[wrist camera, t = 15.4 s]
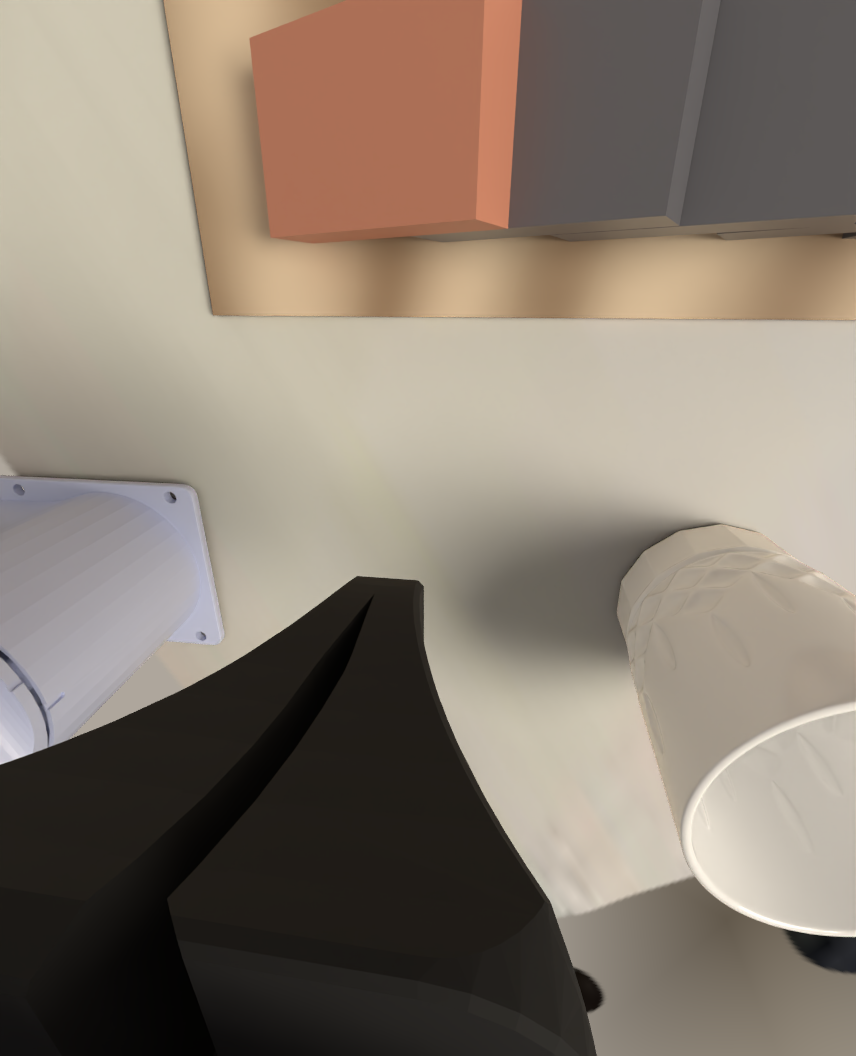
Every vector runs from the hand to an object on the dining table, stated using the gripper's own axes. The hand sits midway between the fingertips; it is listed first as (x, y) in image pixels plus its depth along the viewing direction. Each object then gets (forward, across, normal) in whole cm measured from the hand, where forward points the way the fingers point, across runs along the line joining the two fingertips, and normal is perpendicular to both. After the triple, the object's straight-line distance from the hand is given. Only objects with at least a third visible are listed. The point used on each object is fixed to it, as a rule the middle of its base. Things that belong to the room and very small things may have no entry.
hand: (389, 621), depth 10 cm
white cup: (+11, -11, +5) cm, 16 cm away
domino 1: (+9, 0, -10) cm, 14 cm away
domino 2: (+9, -4, -10) cm, 14 cm away
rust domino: (+9, +5, -10) cm, 14 cm away
